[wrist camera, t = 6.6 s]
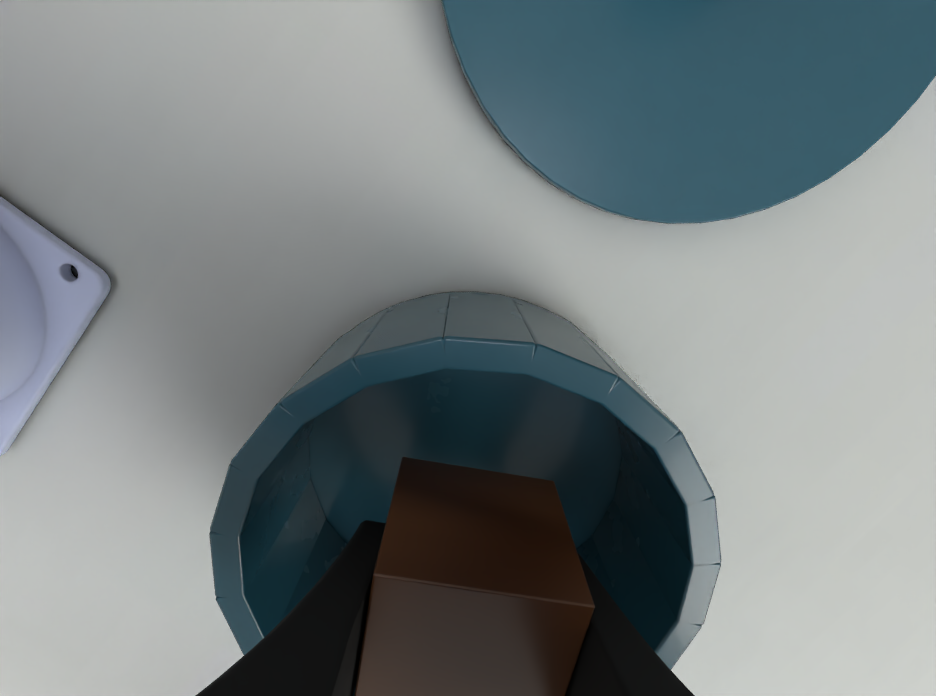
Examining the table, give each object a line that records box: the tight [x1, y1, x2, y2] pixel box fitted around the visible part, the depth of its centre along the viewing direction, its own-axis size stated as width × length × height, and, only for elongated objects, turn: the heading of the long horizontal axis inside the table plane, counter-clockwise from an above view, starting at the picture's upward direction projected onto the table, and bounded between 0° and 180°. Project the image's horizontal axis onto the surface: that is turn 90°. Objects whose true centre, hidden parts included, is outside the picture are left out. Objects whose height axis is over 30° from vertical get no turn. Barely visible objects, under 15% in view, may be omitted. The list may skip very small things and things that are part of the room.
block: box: [354, 457, 595, 696], centre depth 11 cm, size 4×4×4 cm
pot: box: [209, 292, 721, 696], centre depth 13 cm, size 12×12×5 cm
